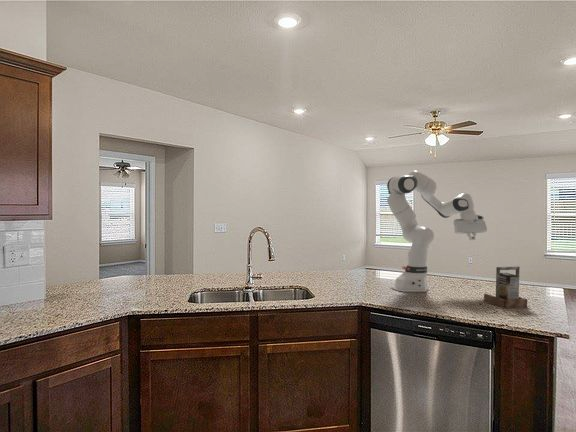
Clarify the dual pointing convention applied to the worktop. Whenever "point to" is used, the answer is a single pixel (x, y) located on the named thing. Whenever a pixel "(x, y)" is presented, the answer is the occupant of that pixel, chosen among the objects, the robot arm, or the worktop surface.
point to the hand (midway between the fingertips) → (472, 239)
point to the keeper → (501, 302)
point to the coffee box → (509, 286)
